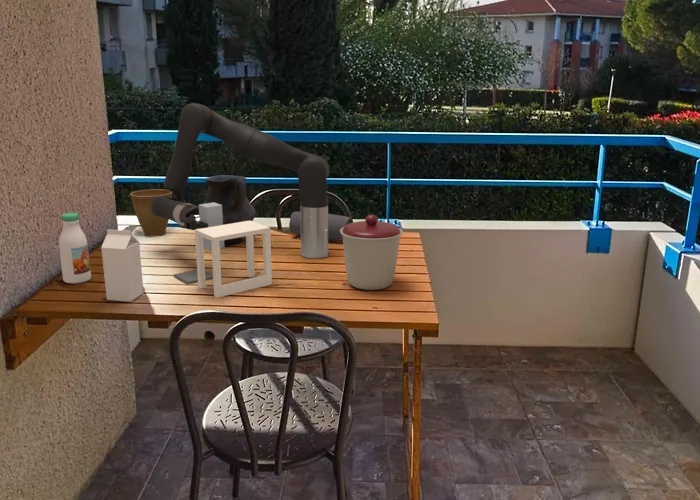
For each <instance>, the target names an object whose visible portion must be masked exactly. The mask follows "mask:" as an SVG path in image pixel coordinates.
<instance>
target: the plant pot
mask: <svg viewBox="0 0 700 500" xmlns="http://www.w3.org/2000/svg"><path fill="white" fill-rule="evenodd" d="M157 196H165V197H170V198H173V192H171V191H169V190H167V189H163V188H162V189H161V188H160V189H157V188H156V189H154V188H153V189H143V190H142V189H141V190H137V191H132V192H131V193H130V199H131V202H132V206H133V207H132V208H133V209H134V212H135V213H134V214H135V215H136V218H137V220H138V224H139V226H140V227H141V228H140V229H142V232H143V234H144V236H147V237H158V236H163V235H165V234H166V231H167V228H168V224H169V221H170V220H169V219H165V218H161V217H158V216H155V215H154V214H153V213H152V211H151V202H152V200H153V199H154V198H155V197H157Z"/></svg>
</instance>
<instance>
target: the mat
mask: <svg viewBox="0 0 700 500" xmlns="http://www.w3.org/2000/svg"><path fill="white" fill-rule="evenodd" d="M173 277H174V278H176V279H177V280H179V281H180V282H182V283H184V284H185V285H188V286H189V285H190V284H196V283H197V284H198V274H197V269H194V270H193V269H192V270H188V271H184V272H179V273H174V274H173ZM205 279H206V281H209V280H213V273H211V272H208V271H206V270H205Z"/></svg>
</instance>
